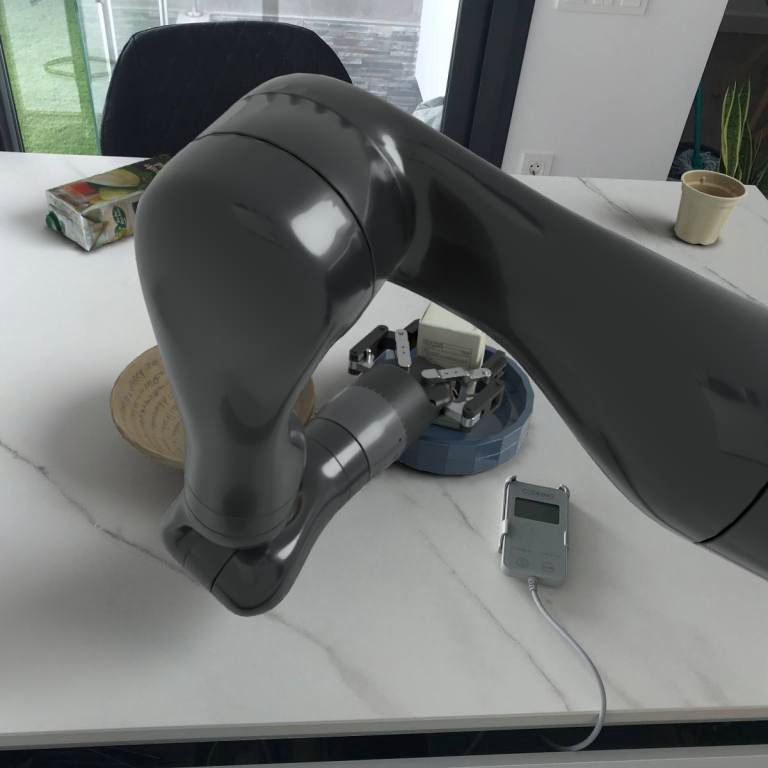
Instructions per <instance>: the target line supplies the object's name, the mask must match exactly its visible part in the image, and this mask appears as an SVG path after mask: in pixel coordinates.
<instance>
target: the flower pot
mask: <svg viewBox="0 0 768 768" xmlns="http://www.w3.org/2000/svg"><path fill="white" fill-rule="evenodd" d="M680 182H681V195H680V200H679V205H678V209H677V210H678V211H677V215H676V219H675V223H674V227H673V228H674V229H673V230H674V232H675V235H676V237H678V238H679V239H681V240H682V241H684V242H686V243H689V244H693V245H696V244H701V245H702V246H709V245H712V244H714V243H715V242H716V241H717V239H718V238H719V236H720V233H721V232H722V230H723V228H724V226H726V225H725V224H727V221H728V220H729V218H730V216H731V214H732V213H733V211H734V209H735V207H736V206H737V205H739V204H740V202H741V200H742V199H744V198H745V197H746V196H747V195H748V193H749V192H748V188H747V187H746V186H745V184H743V182H742V181H740V180H738V179H736V178H735V177H732V176H730V175H727V174H724V173H721V172H716V171H713V170H706V169H694V170H693V169H692V170H688V171H686V172H684V173H683V174H681V177H680Z"/></svg>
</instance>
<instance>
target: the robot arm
mask: <svg viewBox="0 0 768 768" xmlns="http://www.w3.org/2000/svg"><path fill="white" fill-rule="evenodd" d="M133 245H134V256H135V263H136V264H135V265H136V271H137V275H138V280H139V285H140V290H141V293H142V297H143V301H144V305H145V308H146V311H147V315H148V318H149V322H150V325H151V328H152V332H153V334H154V338H155V342H156V345H158V348H159V351H160V355H161V358H162V362H163V365H164V369H165V372H166V376H167V379H168V382H169V385H170V388H171V391H172V394H173V396H174V399H175V403H176V406H177V409H178V413H179V416H180V419H181V423H182V427H183V432H184V443H185V460H184V470H183V487H182V488H181V490H180V493H179V494H178V496H177V497H176V498H175V499H174V500H173V501H172V503H171V504H170V506H168V508H167V510H166V511H165V513H164V515H163V517H162V519H161V521H160V525H159V536H160V539H161V542H162V544H163V547H164V548H165V550H166V551H167V553H168V554H169V555H170V556H171V558H172V559H173V560H174V561H175V562H176V563H177V564H178V565H179V566H180V567H182V569H184V570H185V571H186V573H188V575H190V576H191V577H192V578H193V579H194V580H196V582H197V583H199V584H200V585H201V586H202V587H203V588H204V589H205V590H206V591H208V593H210V594H211V595H212V597H213V598H215V599H216V601H218V602H219V603H220V604H221V605H222V606H223V607H224V608H225V609H226V610H228V611H230V612H231V613H232V614H233V615H235V616H238V617H243V618H250V617H251V618H252V617H257V616H260V615H264V614H266V613H268V612H269V611H272V610H273V609H274V608H276V607H277V606H278V605H279V604H281V602H283V600H284V599H286V597H287V595H288V594H289V593H290V591H291V589H292V588H293V586H294V584H295V583H296V582H297V579H298V577H299V575H300V573H301V571H302V570H303V568H304V566H305V564H306V561H307V559H308V557H309V555H310V554H311V551H312V549H313V547H314V546H315V544H316V542H317V540H319V537H320V536H321V535H322V533H323V531H324V530H325V528H326V527H327V526H328V524H329V523H330V522H331V521H332V520H333V518H334V517H335V516H336V515H337V513H338V512H339V511H340V510H341V509H342V508H344V506H345V505H346V504H347V503H348V502H350V500H351V499H353V497H354V496H356V494H357V493H359V492H360V491H361V490H362V489H363V488H364V487H365V486H366V485H367V484H368V483H370V482H371V481H372V480H374V479H375V478H377V477H379V475H381V474H382V473H383V472H384V471H386V470H387V469H388V468H389V467H390V466H391V465H392V464H393V463H395V462H396V461H397V459H398V458H399V457H400V455H401V454H402V453H403V452H404V451H405V450H406V449H407V448H408V447H409V446H410V445H411V444H412V443H413V442H414V441H415V440H416V439H418V438H419V437H420V436H421V435H422V434H423V433H424V432H425V431H426V430H427V428H428V427H429V426H430V425H431V423H432V422H433V421H434V420H435V419H437V418H440V417H443V416H446V415H448V416H449V417H451V418H453V419H455V420H456V421H458V422H460V425H459V429H460V431H461V432H463V433H470V432H472V431H473V430H474V429H475V428H476V427H477V426H478V425H479V424H480V423H482V422H483V421H484V420H485V419H486V418H487V417H488V416H489V415H490V414H492V413H493V412H494V411H495V410H496V409H497V408H498V407H499V406H500V405H501V401H502V396H503V392H504V387H505V382H504V381H502V380H500V379H499V378H500V377H501V376H502V375H503V374H504V372H505V367H506V362H507V359H506V358H505V355H506V352H507V353H508V354H509V355H510V356H511V358H513V360H514V361H515V362H516V363H517V364H519V366H520V368H521V369H522V370H523V371H524V372H525V374H526V375H527V376H528V377H529V379H531V380H532V382H533V383H534V384H535V386H537V388H538V389H539V390H540V391H541V393H542V394H543V395H544V397H545V399H546V400H547V401H548V402H549V404H550V405H551V406H552V407H553V409H554V410H555V412H556V413H557V414H558V416H559V417H560V419H561V420H562V421H563V423H564V424H565V426H566V427H567V428H568V430H569V431H570V432H571V433H572V435H573V436H574V437H575V439H576V440H577V441H578V443H579V445H580V446H581V447H582V448H583V450H584V451H585V453H586V454H587V455H588V456H589V457H590V458H591V459H592V461H593V462H594V463H595V465H596V466H597V467H598V468H599V470H600V471H601V472H602V473H603V475H604V476H605V477H606V478H607V480H608V481H609V482H610V483H611V484H612V485H613V486H614V488H616V489H617V490H618V492H619V493H621V494H622V495H623V497H624V498H626V500H627V501H629V503H631V505H633V506H634V507H635V508H636V509H637V510H639V511H640V512H641V513H642V514H643V515H644V516H645V517H648V518H649V519H650V520H652V521H653V522H655V523H656V524H657V525H659V526H661V527H662V528H664V529H666V530H667V531H669V532H670V533H673V534H674V535H676V536H678V537H680V538H681V539H683V540H685V541H687V542H689V543H691V544H693V545H695V546H697V547H699V548H701V549H703V550H705V551H707V552H709V553H710V554H712V555H715V556H716V557H719V558H720V559H722V560H724V561H726V562H728V563H730V564H732V565H734V566H736V567H738V568H740V569H742V570H744V571H745V572H747V573H750V574H751V575H754V576H756V577H757V578H759V579H761V580H763V581H765V582H767V583H768V306H767V305H765V304H762V303H760V302H758V301H756V300H754V299H751V298H749V297H747V296H745V295H742V294H741V293H738V292H736V291H734V290H732V289H730V288H728V287H726V286H724V285H721V284H720V283H717V282H715V281H713V280H711V279H708V278H707V277H705V276H703V275H701V274H699V273H697V272H696V271H693V270H691V269H689V268H688V267H685V266H683V265H681V264H679V263H678V262H676V261H674V260H671V259H670V258H668V257H665V256H663V255H662V254H660V253H658V252H655V251H653V250H652V249H650V248H648V247H646V246H644V245H642V244H640V243H637V242H636V241H634V240H631V239H630V238H627V237H625V236H623V235H622V234H619V233H617V232H615V231H613V230H611V229H609V228H607V227H605V226H603V225H601V224H599V223H597V222H595V221H593V220H591V219H589V218H587V217H585V216H583V215H581V214H579V213H577V212H575V211H573V210H571V209H569V208H568V207H566V206H564V205H562V204H561V203H559V202H557V201H555V200H553V199H552V198H550V197H548V196H546V195H545V194H543V193H541V192H539V191H537V190H536V189H534V188H533V187H530V186H529V185H528V184H525V183H524V182H522V181H521V180H519V179H518V178H515V177H514V176H512V175H511V174H509V173H507V172H506V171H504V170H502V169H501V168H500V167H498V166H496V165H494V164H492V163H491V162H489V161H487V160H486V159H484V158H483V157H482V156H479V155H477V154H476V153H475V152H473V151H472V150H470V149H468V148H467V147H466V146H463V145H461V144H460V143H458V142H456V141H455V140H453V139H452V138H450V137H449V136H447V135H445V134H444V133H442V132H440V131H439V130H437V129H435V128H434V127H433V126H431V125H429V124H428V123H426V122H424V121H423V120H421V119H419V118H418V117H416V116H414V115H412V114H411V113H409V112H408V111H405V110H404V109H402V108H400V107H398V106H397V105H395V104H393V103H391V102H390V101H388V100H387V99H384V98H383V97H381V96H379V95H377V94H375V93H373V92H370V91H369V90H367V89H365V88H362V87H360V86H358V85H355V84H353V83H349V82H347V81H344V80H341V79H338V78H336V77H332V76H328V75H325V74H317V73H303V72H294V73H290V74H284V75H280V76H277V77H274V78H271V79H269V80H267V81H264V82H262V83H261V84H259V85H258V86H256V87H255V88H253V89H252V90H250V91H248V92H247V93H246V94H245V95H243V96H242V97H240V98H239V99H238V100H236V102H234V103H233V104H232V105H231V106H230V107H229V108H228V109H227V110H226V111H225V112H224V113H222V115H220V116H219V117H218V118H217V119H215V121H214V122H212V123H211V124H210V125H208V127H207V128H205V129H204V130H203V131H202V132H201V133H199V134H198V135H197V136H196V137H195V138H194V139H193V140H192V141H191V142H189V143H187V145H185V146H184V147H183V148H181V149H180V150H179V151H178V152H177V153H175V155H174V156H173V157H172V158H171V159H170V160H169V161H168V162H167V163H166V164H165V166H164V167H163V168H162V169H161V170H160V171H159V172H158V174H157V175H156V176H155V178H154V179H153V180H152V181H151V183H150V184H149V186H148V187H147V188H146V190H145V191H144V193H143V194H142V196H141V198H140V200H139V203H138V206H137V210H136V215H135V220H134V233H133ZM386 282H389V283H391V284H393V285H395V286H398V287H400V288H403V289H406V290H407V291H409V292H412V293H414V294H416V295H418V296H420V297H422V298H424V299H426V300H428V301H430V302H431V301H432V302H433V303H435V304H437V305H439V306H440V307H442V308H444V309H446V310H448V311H449V312H451V313H453V314H455V315H456V316H458V317H460V318H462V319H464V320H465V321H467V322H469V323H470V324H472V325H473V326H475V327H476V328H478V329H479V330H481V331H482V332H484V333H485V334H486V335H487V337H489V338H490V339H491V340H493V342H495V343H496V344H497V345H498V346H500V347H501V348H502V349H504V350H505V351H506V352H505V351H503V350H501V349H497V351H496V352H495V353H494V354H493V355H492V356H491V357H490V358H489V359H488V360H487V361H486V362H485V363H484V364H483V365H482V366H481V368H479V369H472V370H466V369H465V368H464V367H457V368H450V369H446V368H444V367H442V366H440V365H437V364H434V363H431V362H429V361H428V360H427V359H425V358H423V357H421V356H419V355H418V356H417V357H415V356H410V351H411V350H412V349H413V348H415V347H416V346H417V340H418V329H419V321H420V319H421V318H416V319H414V320H412V321H411V322H409V324H408V325H406V326H404V327H403V328H398V329H395V331H393V330H389V329H390V328H389V327H388V325H386V324H378V325H377V326H376V327H374V328H373V329H372V330H371V331H370V332H368V333H367V334H366V335H365V336H364V337H363V338H361V340H359V341H358V342H357V343H356V344H355V345H353V346H352V347H351V348H349V350H348V361H347V362H348V363H347V365H348V367H347V373H348V374H349V375H351V376H358V377H357V378H355V379H354V381H352V382H350V383H349V384H348V385H347V386H345V388H343V389H342V390H341V391H339V393H337V394H336V395H335V396H333V397H332V398H331V399H330V400H329V401H327V402H326V403H325V404H324V405H322V407H320V409H319V410H318V411H316V413H314V415H313V416H312V417H311V418H310V420H309V421H308V423H306V424H305V425H304V426H303V424H302V422H301V419H300V417H299V415H298V413H297V412H296V410H295V409H294V406H295V404H296V402H297V400H298V398H299V397H300V395H301V393H302V391H303V390H304V388H305V386H306V384H307V383H308V381H309V379H310V378H311V376H312V377H313V374H314V373H315V371H316V370H317V368H318V366H319V365H320V363H321V362H322V360H323V359H324V357H325V356H326V355H327V353H329V351H330V350H331V348H333V346H334V345H335V344H336V343H337V342H338V341H339V340H340V339H342V338H343V337H344V336H345V335H346V334H347V333H348V332H349V331H350V330H352V328H353V327H354V326H355V325H356V324H357V322H358V321H359V320H360V318H361V317H362V316H363V315H364V313H365V312H366V310H367V309H368V308H369V306H370V304H371V303H372V302H373V301H374V299H375V298H376V296H377V294H378V293H379V292H380V290H381V289H382V287H383V286H384V285H385V283H386ZM386 349H389V350H393V358H392V359H386V360H380V361H377V362H375V363H374V360H375V359H377V358H378V357H379V356H380V355H381V354H382V353H383V352H384V351H385V350H386ZM362 373H363V374H362ZM450 381H456V383H455V388H454V390H453V391H452V390H451V382H450ZM475 381H477V382H476V385H470V386H468V385H469V383H470V382H475ZM472 397H473V398H472ZM471 398H472V399H471Z"/></svg>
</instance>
